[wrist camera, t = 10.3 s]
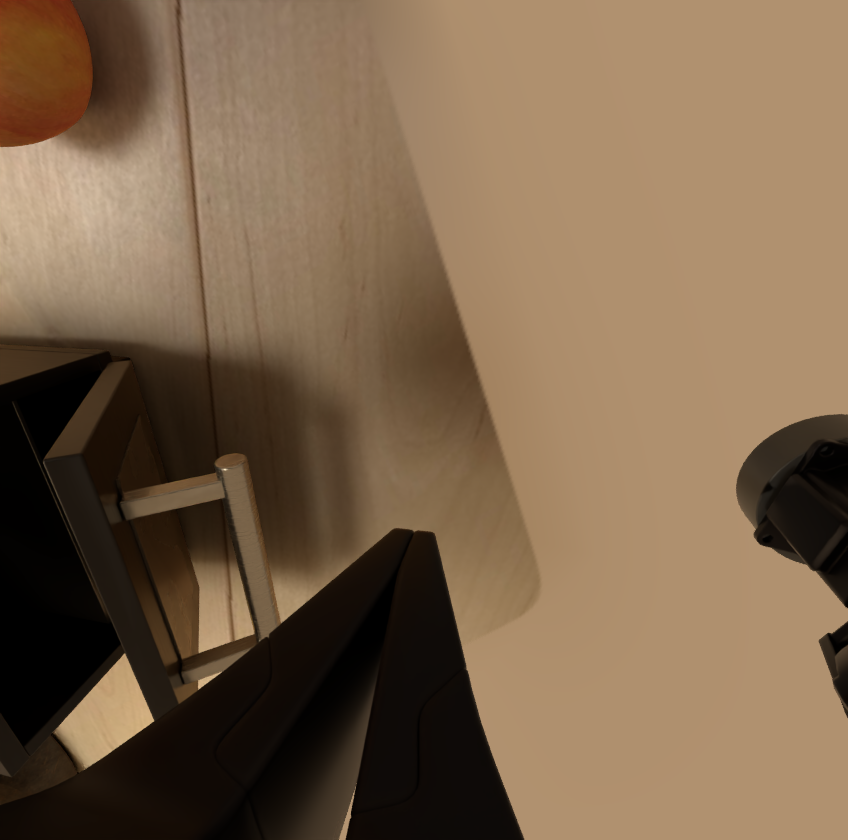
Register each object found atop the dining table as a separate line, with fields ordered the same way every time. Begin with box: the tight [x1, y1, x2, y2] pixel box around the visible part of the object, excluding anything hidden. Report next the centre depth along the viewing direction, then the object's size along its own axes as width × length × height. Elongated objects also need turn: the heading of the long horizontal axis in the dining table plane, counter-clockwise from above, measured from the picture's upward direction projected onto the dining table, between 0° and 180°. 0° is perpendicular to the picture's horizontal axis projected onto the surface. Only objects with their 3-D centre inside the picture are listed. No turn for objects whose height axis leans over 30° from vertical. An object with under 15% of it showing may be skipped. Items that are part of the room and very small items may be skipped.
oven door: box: [43, 360, 281, 721], centre depth 21 cm, size 5×15×11 cm
